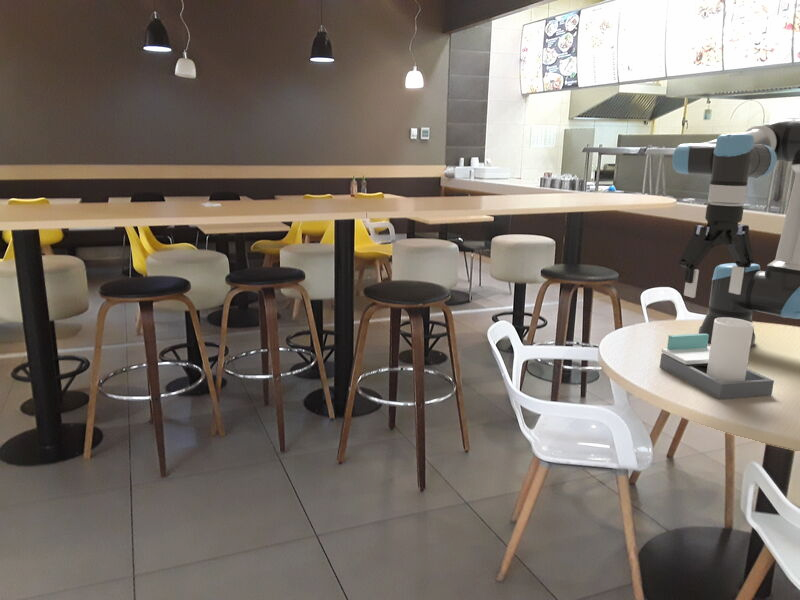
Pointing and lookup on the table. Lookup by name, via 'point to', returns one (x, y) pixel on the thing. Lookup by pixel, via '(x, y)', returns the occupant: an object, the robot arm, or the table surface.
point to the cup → (729, 349)
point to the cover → (688, 348)
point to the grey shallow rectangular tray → (716, 388)
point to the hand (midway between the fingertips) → (712, 295)
